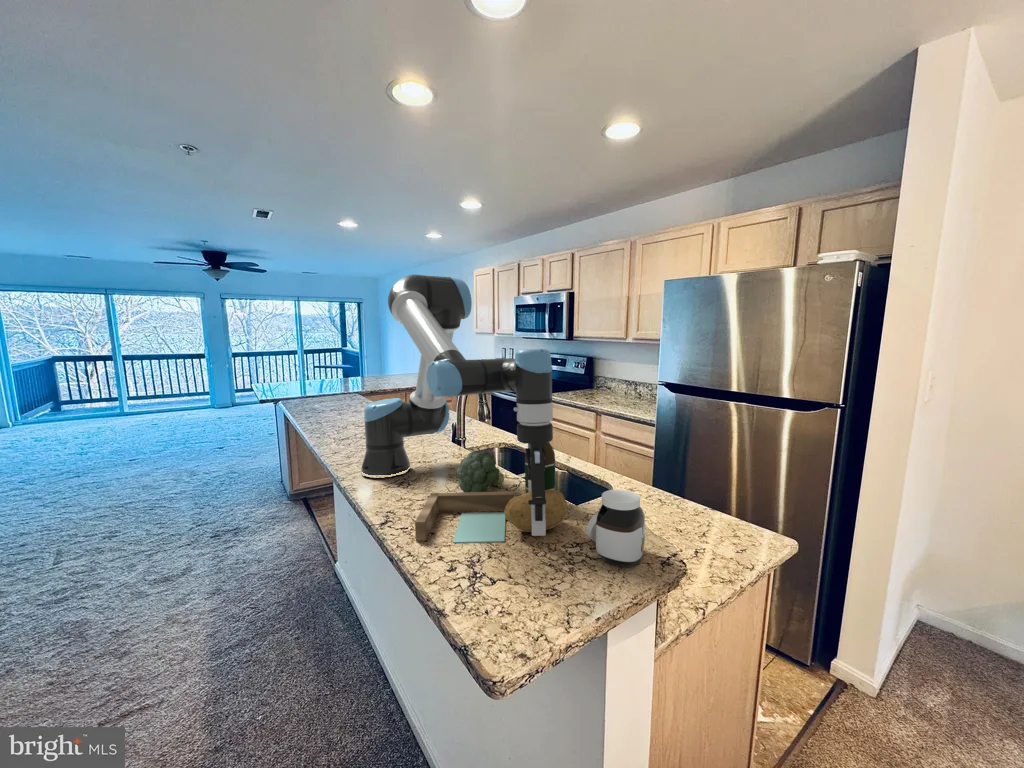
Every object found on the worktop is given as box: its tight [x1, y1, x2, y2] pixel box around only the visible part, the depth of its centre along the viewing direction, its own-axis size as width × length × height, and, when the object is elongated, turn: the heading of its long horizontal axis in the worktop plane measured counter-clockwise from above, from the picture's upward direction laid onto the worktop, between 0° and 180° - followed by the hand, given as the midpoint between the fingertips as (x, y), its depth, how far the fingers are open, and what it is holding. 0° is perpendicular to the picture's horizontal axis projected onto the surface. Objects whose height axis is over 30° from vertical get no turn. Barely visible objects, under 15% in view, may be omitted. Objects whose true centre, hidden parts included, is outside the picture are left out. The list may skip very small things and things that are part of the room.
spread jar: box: [585, 489, 646, 567], centre depth 76 cm, size 12×11×12 cm
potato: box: [503, 490, 568, 533], centre depth 86 cm, size 10×14×8 cm
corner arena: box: [414, 491, 516, 542], centre depth 90 cm, size 16×20×4 cm
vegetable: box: [456, 450, 505, 493], centre depth 110 cm, size 12×13×15 cm
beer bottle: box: [524, 442, 557, 494], centre depth 99 cm, size 8×8×24 cm
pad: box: [452, 511, 506, 544], centre depth 88 cm, size 14×10×1 cm
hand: (536, 520), depth 86 cm, fingers open, 13 cm apart
